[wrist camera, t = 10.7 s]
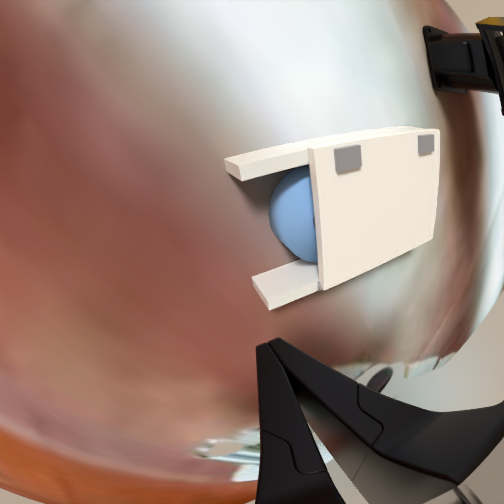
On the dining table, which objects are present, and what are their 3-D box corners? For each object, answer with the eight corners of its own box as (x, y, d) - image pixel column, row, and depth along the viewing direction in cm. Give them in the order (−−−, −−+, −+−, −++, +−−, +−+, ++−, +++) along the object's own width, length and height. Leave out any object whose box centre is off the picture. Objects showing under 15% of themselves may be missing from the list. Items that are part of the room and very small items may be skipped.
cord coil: (339, 157, 18) (363, 163, 16) (344, 233, 21) (365, 247, 19) (260, 174, 17) (277, 183, 15) (274, 258, 20) (290, 275, 18)
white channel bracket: (404, 125, 19) (436, 130, 16) (405, 225, 23) (432, 240, 20) (223, 158, 16) (240, 166, 13) (253, 286, 20) (271, 314, 17)
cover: (433, 128, 16) (443, 130, 15) (427, 235, 20) (435, 240, 20) (307, 147, 14) (316, 149, 13) (319, 285, 18) (326, 293, 17)
